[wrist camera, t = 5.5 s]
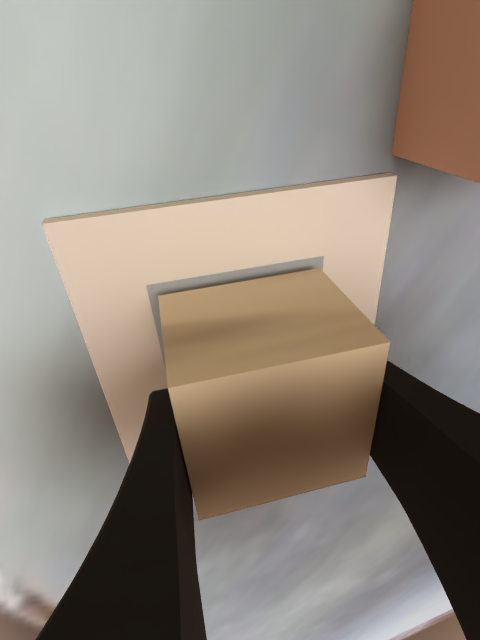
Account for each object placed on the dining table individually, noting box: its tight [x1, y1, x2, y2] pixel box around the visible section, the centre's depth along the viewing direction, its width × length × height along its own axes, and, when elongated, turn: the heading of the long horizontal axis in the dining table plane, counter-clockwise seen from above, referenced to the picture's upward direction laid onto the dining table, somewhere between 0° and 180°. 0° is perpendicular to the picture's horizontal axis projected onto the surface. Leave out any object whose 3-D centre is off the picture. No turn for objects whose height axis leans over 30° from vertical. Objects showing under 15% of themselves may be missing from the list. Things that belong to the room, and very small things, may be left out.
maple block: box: [158, 268, 390, 520], centre depth 11 cm, size 5×5×4 cm
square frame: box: [42, 173, 397, 464], centre depth 14 cm, size 10×10×1 cm
